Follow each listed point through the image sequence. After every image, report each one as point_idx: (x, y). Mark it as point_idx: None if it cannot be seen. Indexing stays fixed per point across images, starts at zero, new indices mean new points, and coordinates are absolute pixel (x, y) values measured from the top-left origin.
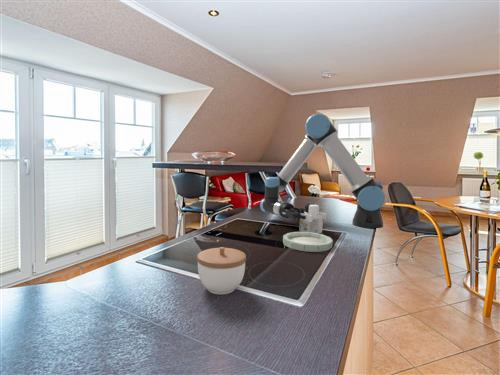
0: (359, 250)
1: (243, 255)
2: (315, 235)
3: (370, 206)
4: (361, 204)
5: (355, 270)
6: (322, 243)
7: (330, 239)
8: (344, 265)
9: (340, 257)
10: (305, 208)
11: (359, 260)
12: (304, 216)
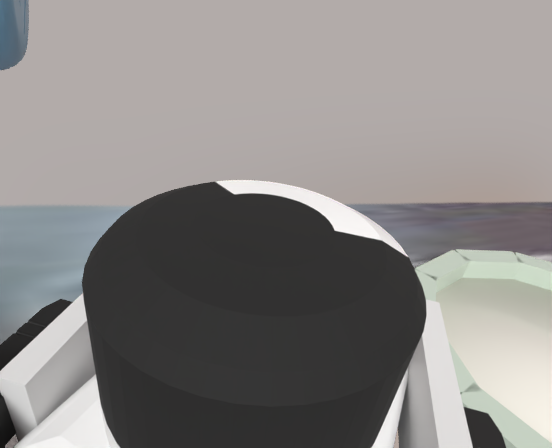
0: (373, 214)
1: None
2: None
3: (25, 34)
4: (14, 30)
5: (540, 208)
6: (544, 268)
7: (448, 259)
8: (548, 225)
9: (509, 239)
10: (400, 380)
11: (465, 208)
12: (481, 413)
